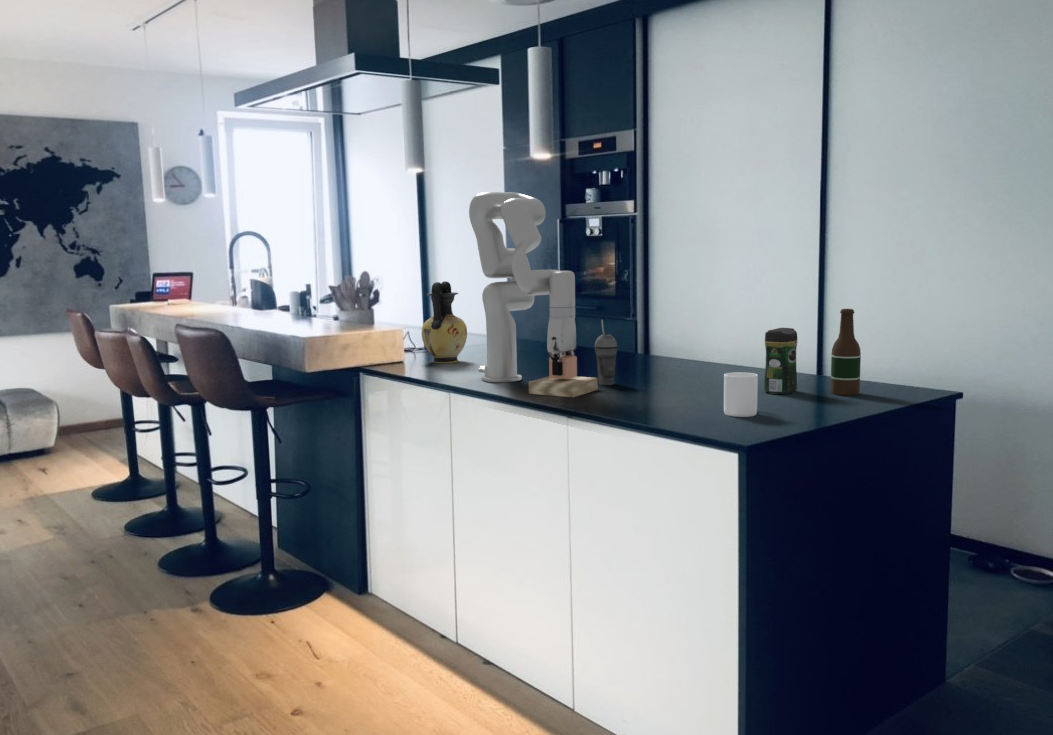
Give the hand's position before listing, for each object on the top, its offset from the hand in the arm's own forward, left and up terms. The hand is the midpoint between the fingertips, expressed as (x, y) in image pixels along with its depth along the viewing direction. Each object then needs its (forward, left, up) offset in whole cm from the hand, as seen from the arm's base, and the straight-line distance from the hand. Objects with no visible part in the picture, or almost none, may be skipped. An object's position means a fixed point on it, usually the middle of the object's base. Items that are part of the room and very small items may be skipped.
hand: (563, 373), depth 274 cm
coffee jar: (+57, +26, -6) cm, 63 cm away
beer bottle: (+74, +31, -6) cm, 81 cm away
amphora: (-73, +39, -6) cm, 83 cm away
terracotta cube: (0, 0, -1) cm, 1 cm away
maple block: (0, 0, -6) cm, 6 cm away
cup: (+58, -9, -6) cm, 59 cm away
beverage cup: (+5, +18, -6) cm, 20 cm away
